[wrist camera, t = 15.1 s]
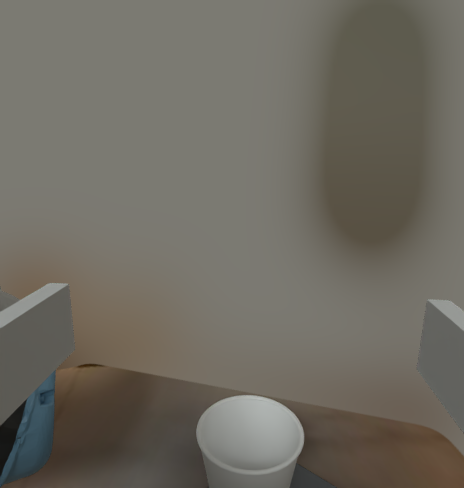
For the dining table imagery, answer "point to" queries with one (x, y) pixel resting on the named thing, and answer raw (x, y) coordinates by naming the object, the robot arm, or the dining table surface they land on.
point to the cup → (249, 443)
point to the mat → (307, 479)
